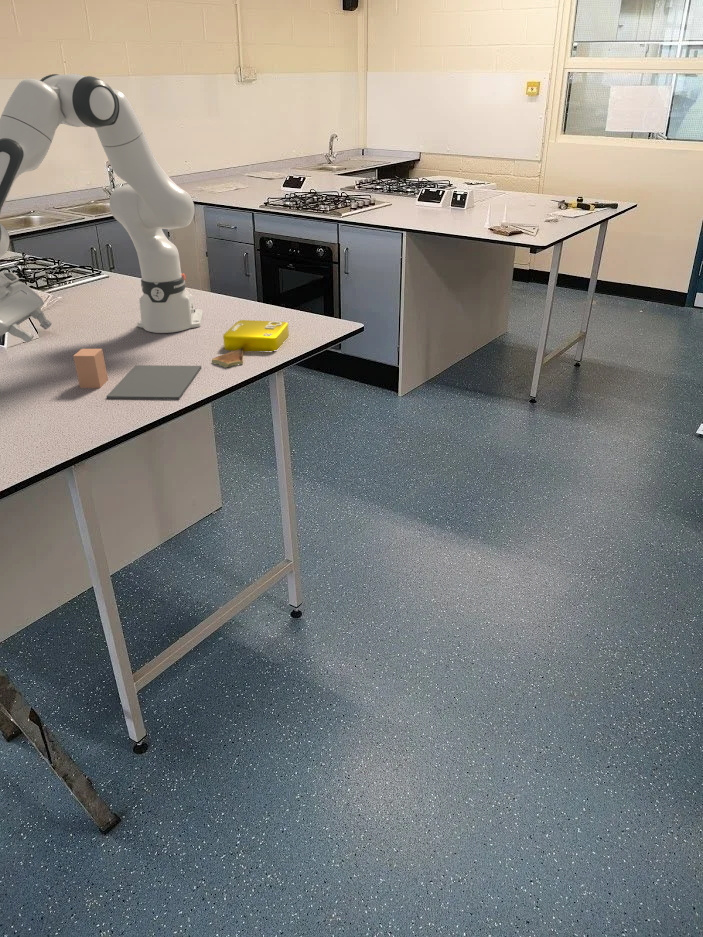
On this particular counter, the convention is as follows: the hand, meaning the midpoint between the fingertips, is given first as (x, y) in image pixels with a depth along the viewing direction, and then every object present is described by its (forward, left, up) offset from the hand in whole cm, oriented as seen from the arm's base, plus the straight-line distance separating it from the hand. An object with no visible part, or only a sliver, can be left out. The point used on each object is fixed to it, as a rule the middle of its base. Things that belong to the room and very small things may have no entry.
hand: (40, 333), depth 169 cm
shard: (-17, +39, -13) cm, 45 cm away
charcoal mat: (-1, +26, -13) cm, 28 cm away
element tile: (-31, +45, -13) cm, 56 cm away
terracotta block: (0, +11, -13) cm, 16 cm away
